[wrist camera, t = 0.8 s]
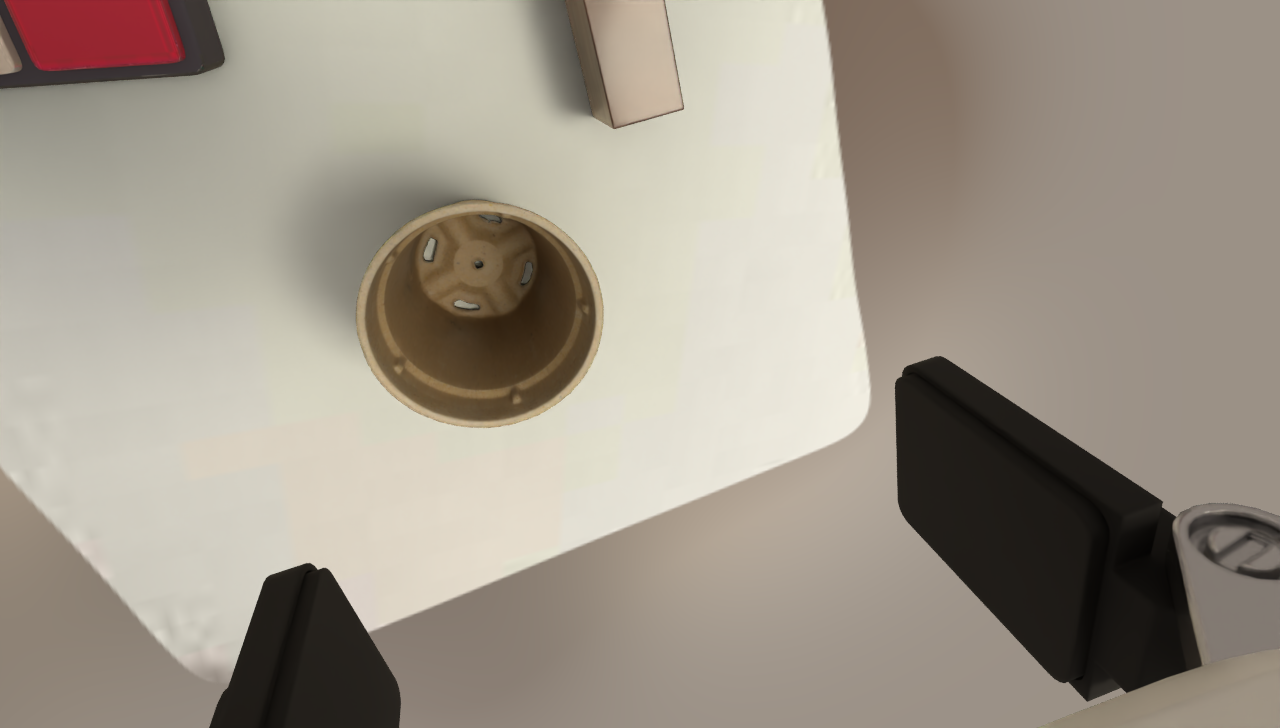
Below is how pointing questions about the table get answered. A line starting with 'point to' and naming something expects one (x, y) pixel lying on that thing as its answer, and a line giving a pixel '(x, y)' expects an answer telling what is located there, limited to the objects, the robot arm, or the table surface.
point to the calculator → (104, 40)
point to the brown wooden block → (626, 59)
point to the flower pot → (479, 315)
